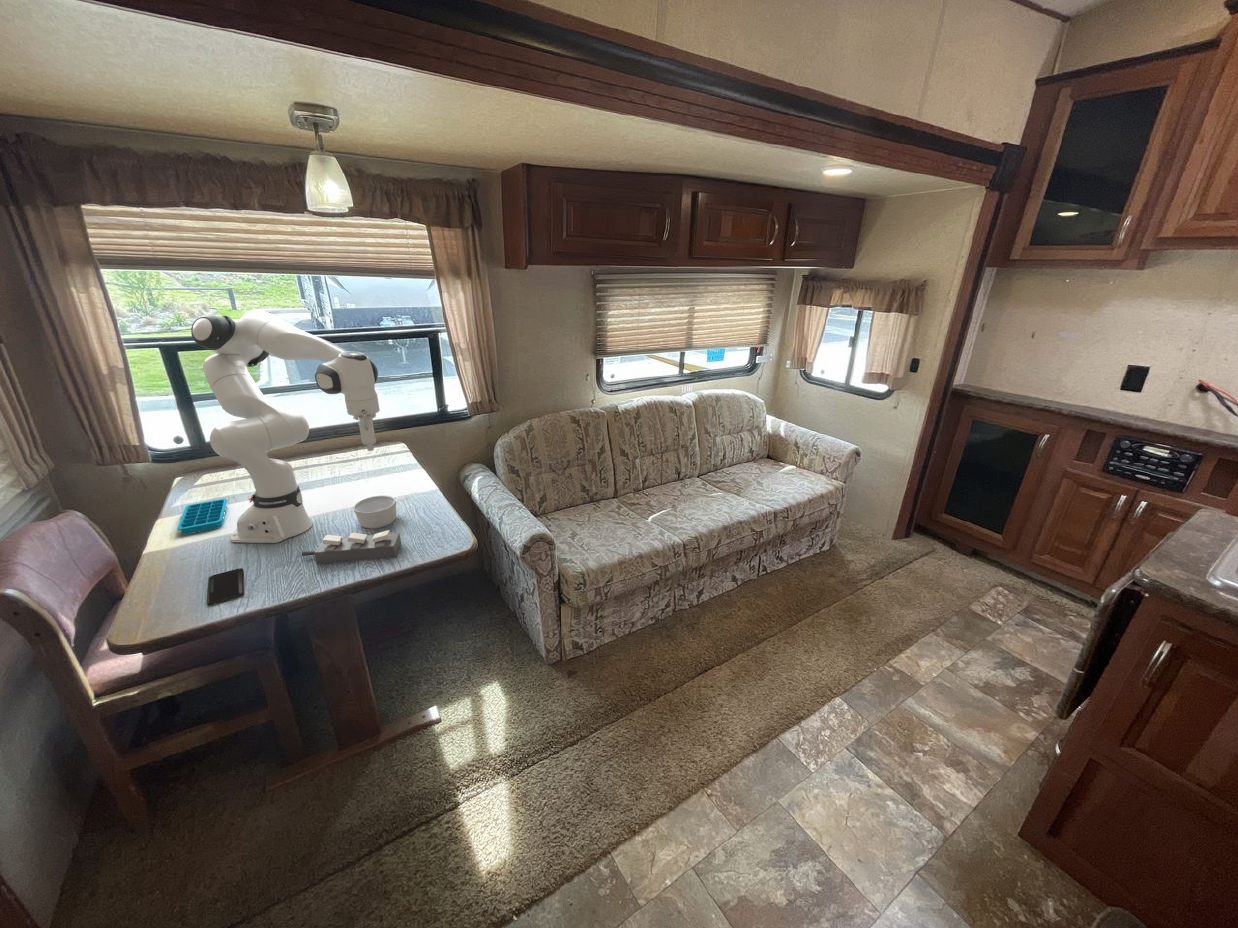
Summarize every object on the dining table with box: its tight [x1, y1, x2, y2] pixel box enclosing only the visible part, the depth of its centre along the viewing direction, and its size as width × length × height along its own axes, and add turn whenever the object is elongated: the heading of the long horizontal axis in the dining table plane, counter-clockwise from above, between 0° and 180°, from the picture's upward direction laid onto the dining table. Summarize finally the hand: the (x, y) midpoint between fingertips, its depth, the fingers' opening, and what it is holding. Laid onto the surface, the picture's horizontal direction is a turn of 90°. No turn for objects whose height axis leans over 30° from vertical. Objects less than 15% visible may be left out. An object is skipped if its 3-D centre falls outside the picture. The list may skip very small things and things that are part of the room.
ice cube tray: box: [176, 498, 228, 536], centre depth 167 cm, size 12×20×3 cm, turn 33°
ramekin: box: [352, 495, 397, 530], centre depth 167 cm, size 13×13×7 cm
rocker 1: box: [322, 534, 343, 545], centre depth 146 cm, size 4×3×1 cm
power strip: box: [301, 532, 402, 565], centre depth 148 cm, size 27×8×5 cm, turn 101°
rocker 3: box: [373, 529, 392, 543], centre depth 149 cm, size 4×3×1 cm
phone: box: [206, 567, 245, 607], centre depth 133 cm, size 8×1×15 cm
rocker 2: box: [348, 532, 368, 544], centre depth 148 cm, size 4×3×1 cm
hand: (370, 449), depth 152 cm, fingers closed
